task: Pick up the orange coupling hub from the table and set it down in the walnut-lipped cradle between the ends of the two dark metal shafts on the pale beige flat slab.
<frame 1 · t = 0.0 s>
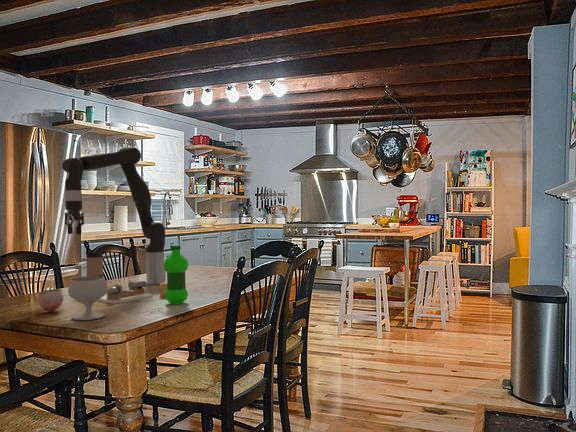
hand: (74, 234, 249), 29 cm above the table, tool pointing down, fingers open, 8 cm apart
pale beige flat slab: (122, 298, 239), on the table
chalice: (88, 318, 198), on the table
travel mug: (95, 292, 257), on the table
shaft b: (114, 301, 231), resting on pale beige flat slab
shaft a: (137, 295, 245), resting on pale beige flat slab
coupler: (165, 296, 243), on the table
plastic bottle: (176, 303, 224), on the table
decorative fruit: (50, 312, 210), on the table
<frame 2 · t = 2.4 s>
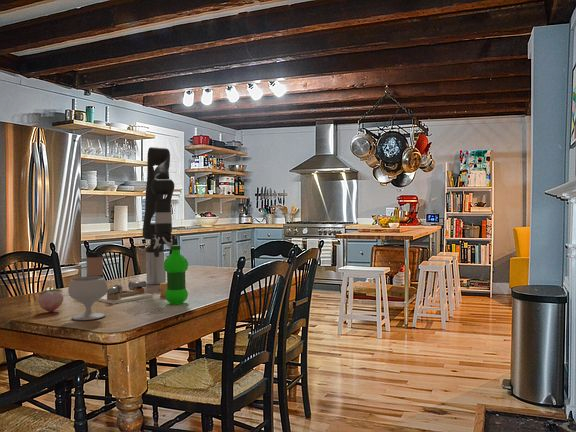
hand: (164, 257, 242), 18 cm above the table, tool pointing down, fingers open, 8 cm apart
nothing on the table moved.
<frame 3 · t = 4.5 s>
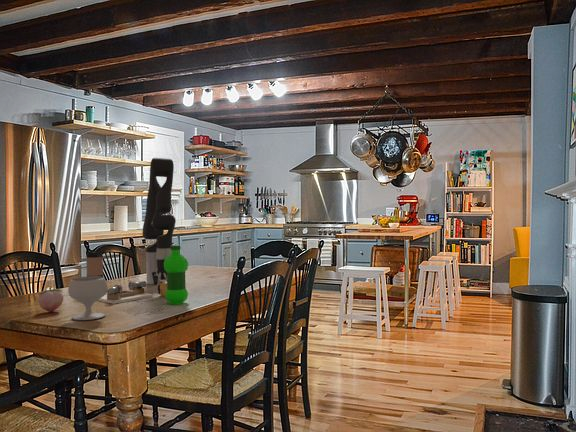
hand: (165, 294, 243), 1 cm above the table, tool pointing down, fingers closed on coupler, 5 cm apart
coupler: (165, 296, 243), on the table, touching gripper
everything else where it was.
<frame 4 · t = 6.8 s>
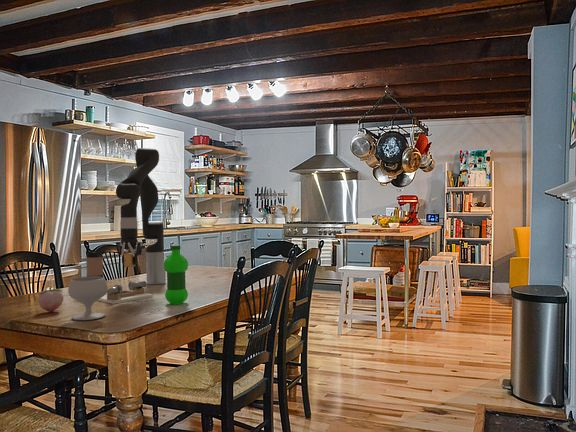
hand: (129, 264, 239), 16 cm above the table, tool pointing down, fingers closed on coupler, 5 cm apart
coupler: (129, 266, 239), point 15 cm above the table, touching gripper
everything else where it was.
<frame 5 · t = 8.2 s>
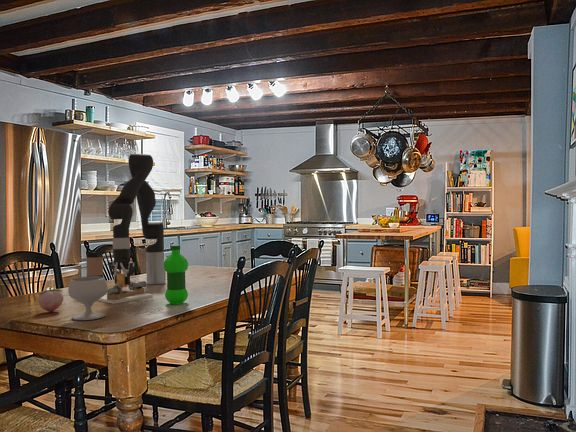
hand: (122, 284, 239), 6 cm above the table, tool pointing down, fingers closed on coupler, 5 cm apart
coupler: (122, 286, 239), point 5 cm above the table, touching gripper
everything else where it was.
when the fingers open (4 cm above the table, at t = 9.1 s): coupler drops 1 cm, resting on pale beige flat slab.
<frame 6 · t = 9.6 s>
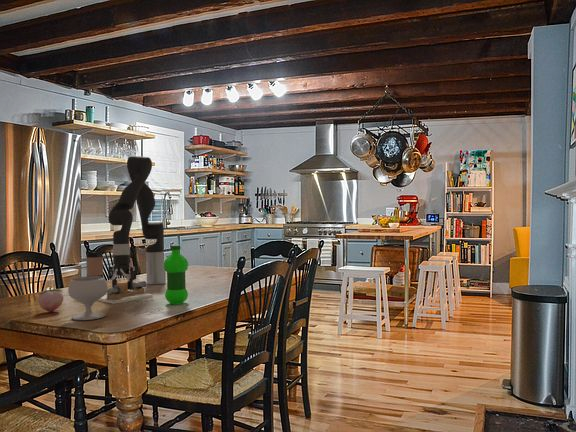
hand: (122, 288, 239), 4 cm above the table, tool pointing down, fingers open, 8 cm apart
coupler: (122, 295, 239), point 1 cm above the table, touching pale beige flat slab
everything else where it was.
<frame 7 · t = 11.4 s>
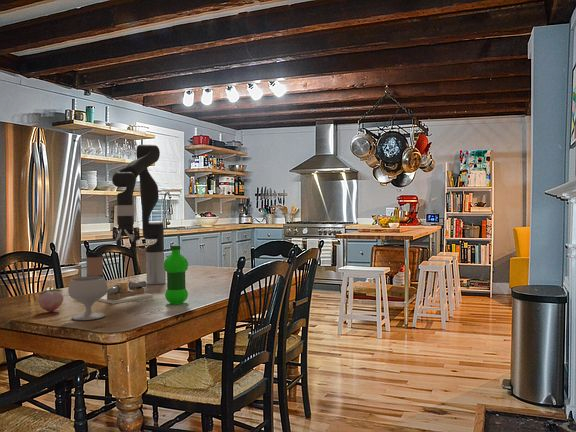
hand: (126, 249, 246), 22 cm above the table, tool pointing down, fingers open, 8 cm apart
nothing on the table moved.
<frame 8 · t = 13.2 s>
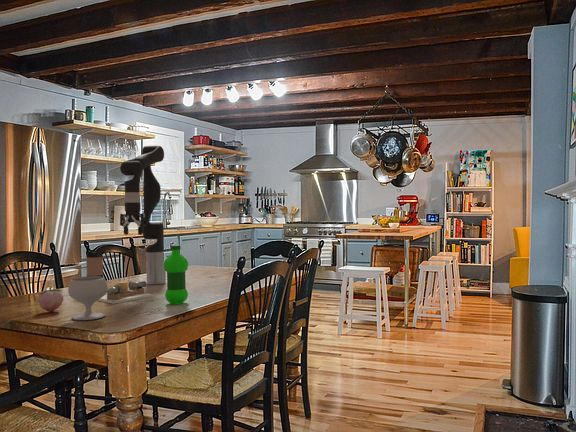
hand: (133, 234, 257), 28 cm above the table, tool pointing down, fingers open, 8 cm apart
nothing on the table moved.
at the end: coupler 0.0 cm off-centre on the pale beige flat slab, point 1.2 cm above the pale beige flat slab's base; coupler tilted 0°; the gripper is holding nothing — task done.
